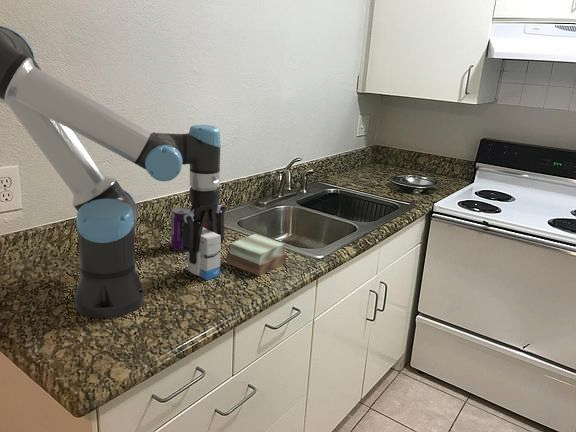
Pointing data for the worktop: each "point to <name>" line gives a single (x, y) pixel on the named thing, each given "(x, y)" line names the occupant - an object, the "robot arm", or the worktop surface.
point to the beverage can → (178, 227)
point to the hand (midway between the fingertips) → (203, 270)
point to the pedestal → (256, 254)
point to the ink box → (208, 254)
